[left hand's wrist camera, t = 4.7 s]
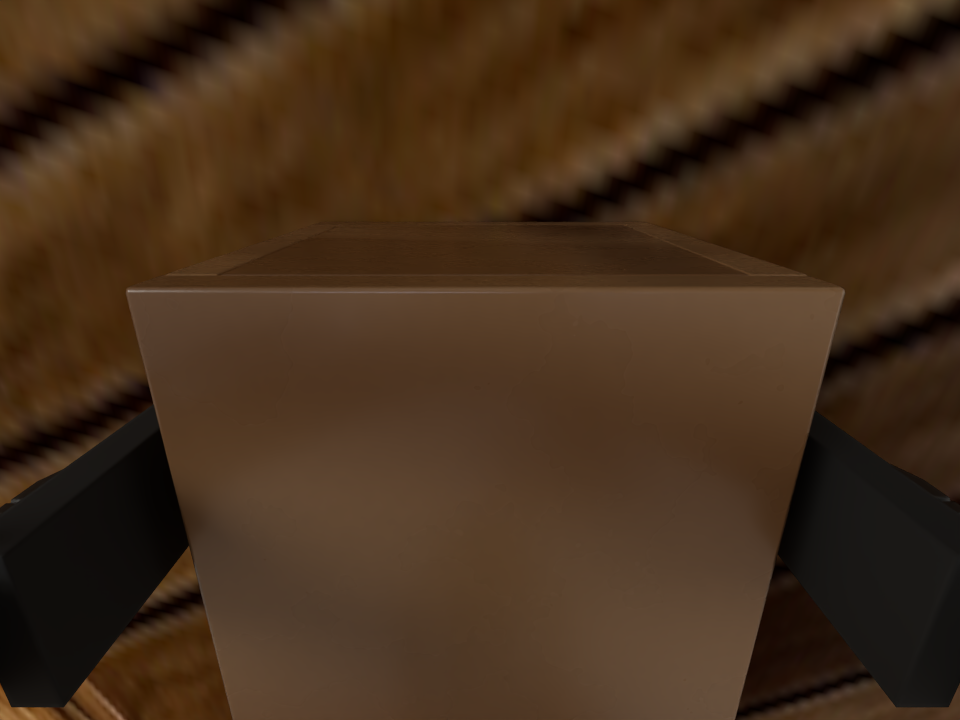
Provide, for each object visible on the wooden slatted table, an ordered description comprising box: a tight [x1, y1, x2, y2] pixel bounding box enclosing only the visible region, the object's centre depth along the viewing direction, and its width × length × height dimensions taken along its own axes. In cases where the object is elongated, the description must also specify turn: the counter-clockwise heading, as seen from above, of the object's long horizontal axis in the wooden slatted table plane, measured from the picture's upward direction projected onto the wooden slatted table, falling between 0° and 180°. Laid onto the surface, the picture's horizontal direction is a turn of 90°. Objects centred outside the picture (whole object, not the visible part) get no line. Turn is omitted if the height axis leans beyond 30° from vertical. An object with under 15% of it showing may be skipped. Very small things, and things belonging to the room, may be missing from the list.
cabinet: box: [126, 222, 845, 720], centre depth 15 cm, size 22×10×10 cm, turn 0°
